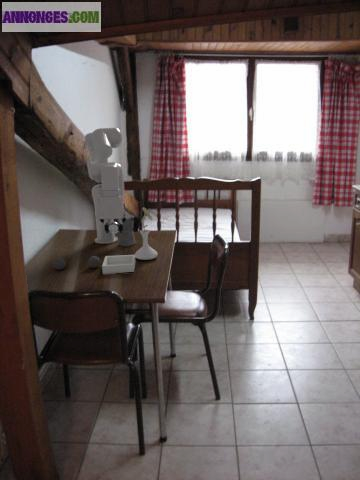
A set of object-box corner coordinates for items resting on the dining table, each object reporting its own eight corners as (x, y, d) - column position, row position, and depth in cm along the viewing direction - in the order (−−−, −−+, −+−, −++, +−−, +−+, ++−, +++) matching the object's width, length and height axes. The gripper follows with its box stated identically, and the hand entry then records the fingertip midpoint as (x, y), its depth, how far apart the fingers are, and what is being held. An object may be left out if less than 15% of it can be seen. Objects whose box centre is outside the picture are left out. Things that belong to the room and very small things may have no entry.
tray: (106, 264, 227) (105, 256, 226) (135, 262, 227) (134, 254, 226) (102, 274, 214) (102, 266, 212) (134, 272, 214) (133, 264, 213)
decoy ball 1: (55, 267, 225) (54, 256, 224) (67, 266, 225) (66, 255, 224) (53, 271, 220) (51, 260, 218) (65, 270, 220) (63, 259, 218)
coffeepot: (112, 245, 256) (109, 212, 251) (122, 240, 264) (119, 208, 259) (136, 248, 249) (134, 214, 244) (145, 243, 257) (143, 210, 252)
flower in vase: (157, 261, 228) (154, 210, 221) (133, 262, 228) (130, 211, 221) (158, 252, 240) (156, 204, 233) (136, 253, 240) (132, 205, 233)
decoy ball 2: (89, 265, 226) (88, 254, 224) (101, 265, 226) (100, 254, 224) (87, 269, 220) (86, 258, 219) (99, 269, 220) (98, 257, 219)
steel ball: (107, 235, 213) (106, 223, 212) (109, 232, 218) (108, 220, 217) (119, 235, 213) (118, 223, 211) (121, 231, 218) (120, 220, 217)
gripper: (90, 195, 207) (93, 235, 212) (129, 194, 207) (132, 234, 212) (93, 192, 214) (96, 230, 219) (131, 190, 214) (133, 229, 219)
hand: (114, 232), depth 216 cm, fingers closed on steel ball, 5 cm apart
